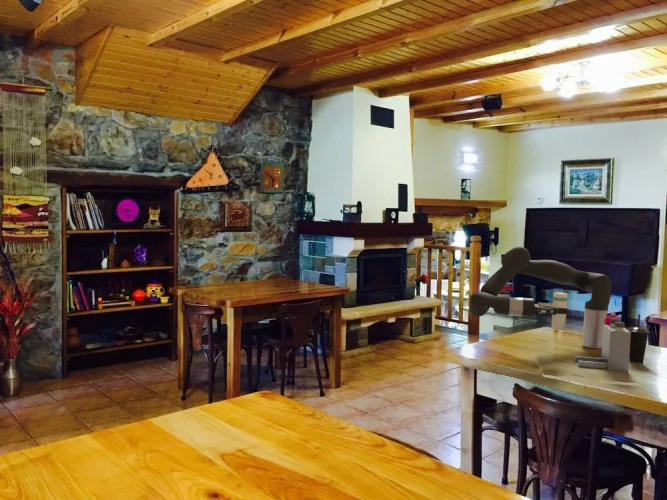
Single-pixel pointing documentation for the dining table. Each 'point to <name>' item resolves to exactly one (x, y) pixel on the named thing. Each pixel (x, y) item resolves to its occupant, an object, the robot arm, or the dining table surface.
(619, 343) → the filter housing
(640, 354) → the drinking cup
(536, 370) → the dining table surface
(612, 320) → the plunger
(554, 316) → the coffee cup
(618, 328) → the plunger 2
